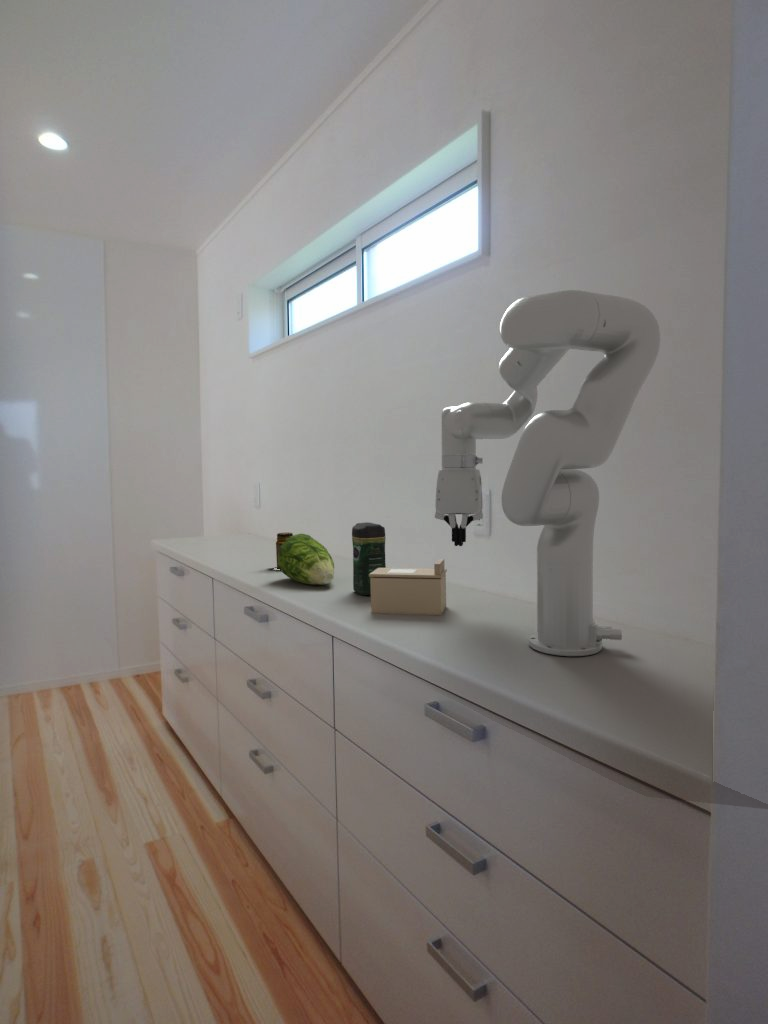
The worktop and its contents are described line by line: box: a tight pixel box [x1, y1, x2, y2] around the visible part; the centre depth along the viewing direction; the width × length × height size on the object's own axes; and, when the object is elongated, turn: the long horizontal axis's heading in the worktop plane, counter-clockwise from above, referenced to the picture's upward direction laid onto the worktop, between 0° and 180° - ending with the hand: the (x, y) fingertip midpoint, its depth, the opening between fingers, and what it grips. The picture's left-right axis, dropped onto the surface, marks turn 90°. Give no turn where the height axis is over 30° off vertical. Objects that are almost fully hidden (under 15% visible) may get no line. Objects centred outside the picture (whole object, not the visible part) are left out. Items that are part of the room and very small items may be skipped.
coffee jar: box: [351, 522, 387, 596], centre depth 155 cm, size 10×8×19 cm
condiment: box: [267, 532, 294, 572], centre depth 196 cm, size 7×8×12 cm
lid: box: [369, 558, 448, 578], centre depth 135 cm, size 16×9×3 cm, turn 76°
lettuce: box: [278, 533, 335, 586], centre depth 170 cm, size 14×23×13 cm, turn 31°
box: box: [370, 572, 447, 616], centre depth 135 cm, size 16×8×8 cm, turn 76°
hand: (458, 545), depth 132 cm, fingers closed
